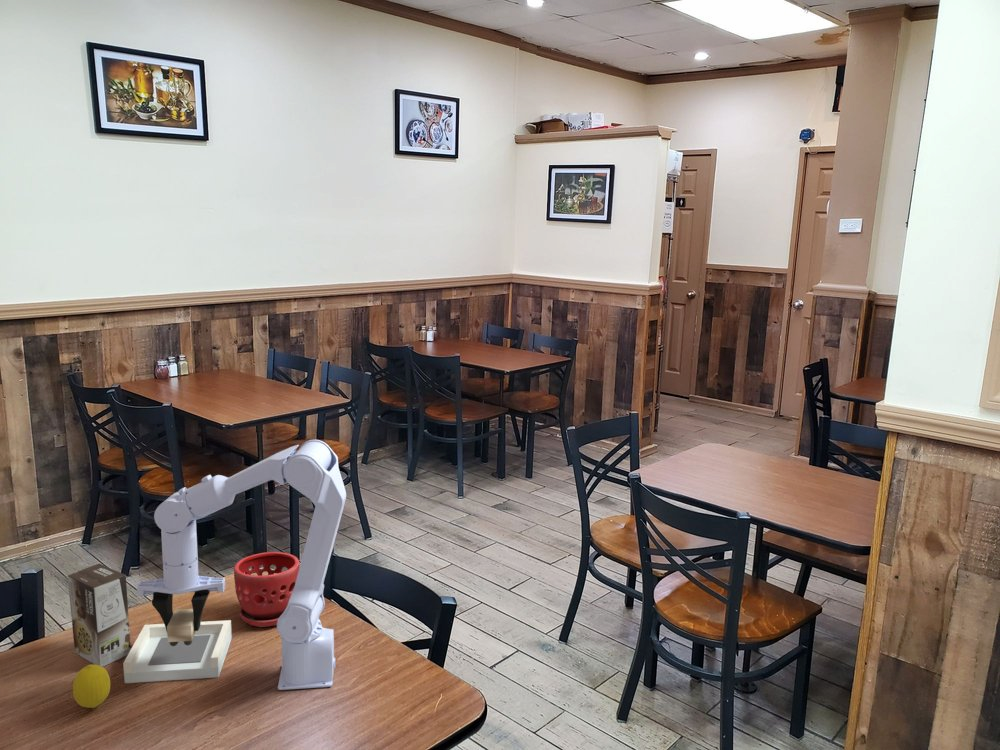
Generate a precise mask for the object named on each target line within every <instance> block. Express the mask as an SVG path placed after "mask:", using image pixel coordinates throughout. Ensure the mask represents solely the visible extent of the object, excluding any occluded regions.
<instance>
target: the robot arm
mask: <svg viewBox="0 0 1000 750" xmlns="http://www.w3.org/2000/svg"><path fill="white" fill-rule="evenodd" d="M299 446H300V447H299ZM298 447H299V449H298V450H297V448H298ZM341 474H342V473H341V471H340V468H339V456H338V455H337V454H336V453H335V452H334V450H333V449H332V448H331V447H330V445H328V444H327V443H326V442H324V441H323V440H319V439H310V440H307V441H305V442H303V443H302V445H299V444H296V445H292V446H290V447H288V448H286V449H283V450H280V451H278V452H276V453H274V454H272V455H270V456H269V457H267V458H264V459H262V460H260V461H259V462H257V463H254V464H252V465H250V466H248V467H246V468H245V469H243V470H241V471H239V472H237V473H235V474H233V475H232V476H228V477H227V476H226V475H221V474H217V475H216V474H215V475H214V476H212V475H211V474H208V475H206V476H204V477H202V479H201V480H200V482H199V483H197V484H195V485H192V486H191V487H182V488H180V489H179V490H178V491H176V492H174V493H173V494H172V495H170V496H169V497H168V498H166V499H165V500H164V501H163V502H161V503H160V504H159V505H158V506H157V507H156V509H155V511H154V513H153V518H154V523H155V524H156V526H157V527H158V528H159V529H160V530H161V531H160V533H161V553H162V569H163V571H162V572H163V578H157V579H152V580H143V581H139V582H138V584H137V586H136V595H137V596H136V597H144V596H145V595H152V600H151V604H152V606H153V608H154V609H155V610H156V611H157V613H158V614H159V615H160V618H161V620H162V622H163V624H165V627H166V631H167V626H168V624H169V622H170V619H171V617H172V615H173V613H174V609H173V597H174V596H173V595H183V594H188V593H194V594H192V597H191V601H190V602H191V606H192V609H193V614H194V631H198V630H199V628H200V623H201V622H202V615H203V611H204V607H205V606H206V602H207V600H208V598H209V595H210V593H211V592H216V593H219V594H220V593H222V594H223V593H224V591H225V589H226V578H225V577H211V576H206V575H199V557H198V556H199V555H198V536H197V535H198V534H197V520H200V519H203V518H205V517H207V516H210V515H211V514H213V513H216V512H218V511H220V510H222V509H224V508H226V507H229V506H231V505H232V504H233V503H234V500H235V497H236V495H237V494H241V493H243V492H245V491H248V490H250V489H253V488H255V487H257V486H260V485H262V484H264V483H267V482H270V481H274V482H276V483H278V484H280V485H282V486H284V485H285V484H286V483H288V485H289V486H290V487H292V488H293V489H295V490H296V491H298V492H299V493H301V494H302V495H303V496H305V497H306V498H308V499H309V500H310V501H311V502H312V503H313V505H314V509H313V510H314V511H313V515H312V517H311V522H310V525H309V529H308V533H307V538H306V542H305V544H304V548H303V552H302V557H301V559H300V563H299V565H300V568H299V571H298V575H297V579H296V583H295V586H294V589H293V592H292V594H291V597H290V599H289V602H288V605H287V607H286V609H285V611H284V612H283V614H282V615H281V616H280V617H279V619H278V622H277V625H276V629H277V633H278V634H279V636H280V637H281V670H280V675H279V679H278V685H277V690H279V691H285V690H286V691H287V690H298V689H299V690H300V689H313V688H314V689H315V688H328V687H333V682H334V679H333V678H334V670H335V669H336V657H335V636H334V635H335V632H334V631H335V630H334V628H325V627H323V625H322V622H321V620H320V616H321V614H322V612H323V611H324V609H325V603H326V602H325V598H324V591H325V590H324V589H325V584H324V582H325V578H326V575H327V571H328V568H329V567H328V566H329V564H330V559H331V556H332V554H333V553H332V552H333V550H334V549H333V548H334V544H335V541H336V537H337V534H338V530H339V527H340V523H341V520H342V519H341V518H342V515H343V511H344V507H345V503H346V500H347V492H346V488H345V484H344V481H343V478H342V475H341Z"/></svg>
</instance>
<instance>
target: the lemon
mask: <svg viewBox="0 0 1000 750" xmlns="http://www.w3.org/2000/svg"><path fill="white" fill-rule="evenodd" d="M104 667H105V666H103V667H102V666H100V665H95V664H93V663H92V664H91V663H90V664H88V665H86V666H84V667H82V668H81V669H80V670H79V671H78V672H77V673H76V675H75V677H74V680H73V683H72V694H73V698H74V700H75V701H76V703H77V704H78V705H79V706H80V707H82V708H89V709H90V708H91V709H95V708H96V707H97V706H99V705H101V704H102V703H103V702H104V701H105V700H106V699H107V698H108V696H109V693H110V690H111V678H110V675H109V673H108V671H107V669H106V668H104Z"/></svg>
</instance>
